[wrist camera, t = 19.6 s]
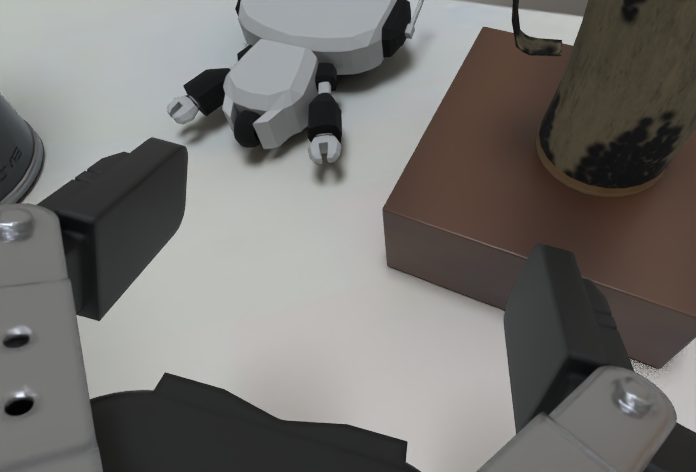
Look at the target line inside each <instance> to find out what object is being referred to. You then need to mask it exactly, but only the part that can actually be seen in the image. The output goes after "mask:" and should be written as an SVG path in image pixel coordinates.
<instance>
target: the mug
mask: <svg viewBox="0 0 696 472" xmlns="http://www.w3.org/2000/svg"><path fill="white" fill-rule="evenodd" d="M518 3H519V0H513V8H512V25H513V31H514V38H515V44H516V47H517V48H518V49H519V50H521V51H522V52H524V53H526V54H528V55H530V56H561V55H562V40H554V39H540V38H531V37H529V36H527V35H526V34H524V33H523V32H522V31H521V30H520V24H519V14H518ZM695 129H696V0H588V3H587V7H586V10H585V14H584V17H583V21H582V24H581V26H580V29H579V32H578V35H577V37H576V40H575V43H574V46H573V48H572V51H571V54H570V56H569V59H568V62H567V65H566V67H565V70H564V73H563V76H562V78H561V81H560V84H559V86H558V89H557V91H556V93H555V95H554V97H553V99H552V101H551V103H550V105H549V107H548V109H547V111H546V113H545V115H544V117H543V120H542V122H541V124H540V127H539V130H538V134H537V139H536V146H537V153H538V156H539V158H540V160H541V162H542V164H543V166H544V167H545V168H546V169H547V170H548V171H549V172H550V173H551V174H552V175H553V177H555V178H556V179H558V180H559V181H561V182H562V183H564V184H565V185H566V186H568V187H570V188H573V189H575V190H578V191H580V192H583V193H586V194H591V195H596V196H601V197H622V196H627V195H632V194H636V193H639V192H641V191H643V190H645V189H647V188H649V187H651V186H653V185H654V184H655V183H656V182H657V181H658V180H659V179H660V178H661V177H662V176H663V174H664V172H665V170H666V168H667V166H668V165H669V164H670V163H671V161H672V160H673V159H674V157H675V156H676V155H677V153H678V152H679V151H680V149H681V148H682V147H683V145H684V144H685V143H686V142H687V140H688V139H689V138H690V136H691V135H692V134H693V132H694V131H695Z"/></svg>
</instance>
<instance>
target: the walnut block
mask: <svg viewBox="0 0 696 472" xmlns="http://www.w3.org/2000/svg"><path fill="white" fill-rule="evenodd" d="M529 37H530V36H529ZM531 38H534V37H531ZM572 48H573V46H572V45H567V44H562V55H561V56H530V55H528V54H526V53H524V52H522V51H521V50H519V49H518V48H517V47H516V44H515V38H514V33H511V32H506V31H502V30H497V29H492V28H488V27H483V28H482V29H481V31H480V33H479V35H478V37H477V39H476V40H475V42H474V44H473V46H472V48H471V49H470V51H469V53H468V55H467V57H466V58H465V60H464V62H463V64H462V66H461V68H460V69H459V71H458V73H457V75H456V77H455V78H454V80H453V82H452V84H451V86H450V87H449V89H448V91H447V93H446V95H445V97H444V98H443V100H442V102H441V104H440V106H439V107H438V109H437V111H436V113H435V115H434V116H433V118H432V120H431V122H430V124H429V126H428V127H427V129H426V131H425V133H424V135H423V136H422V138H421V140H420V142H419V144H418V146H417V147H416V149H415V151H414V153H413V155H412V156H411V158H410V160H409V162H408V164H407V165H406V167H405V169H404V171H403V173H402V175H401V176H400V178H399V180H398V182H397V184H396V185H395V187H394V189H393V191H392V193H391V194H390V196H389V198H388V200H387V202H386V204H385V205H384V207H383V222H384V234H385V246H386V258H387V265H388V266H390V267H393V268H396V269H398V270H401V271H403V272H406V273H409V274H411V275H414V276H417V277H419V278H422V279H424V280H427V281H430V282H432V283H435V284H438V285H440V286H443V287H446V288H448V289H451V290H453V291H456V292H459V293H461V294H464V295H467V296H469V297H472V298H475V299H477V300H480V301H482V302H485V303H488V304H490V305H493V306H496V307H498V308H501V309H504V310H505V309H506V305H507V302H508V299H509V296H510V294H511V292H512V290H513V288H514V286H515V284H516V282H517V280H518V277H519V275H520V273H521V271H522V269H523V267H524V265H525V263H526V261H527V259H528V257H529V254H530V252H531V250H532V249H533V247H534V246H535V245H536V244H537V243H541V244H545V245H549V246H553V247H556V248H560V249H564V250H567V251H571V252H573V253H574V255H575V258H576V261H577V264H578V267H579V270H580V273H581V276H582V278H586V279H590V280H591V281H592V282H593V283H594V284H595V285H596V286H597V288H598V289H599V290H600V291H601V292H602V293H603V294H604V295H605V297H606V299H607V302H608V304H609V307H610V309H611V312H612V315H611V316H612V317H614V320H615V323H616V325H617V331H619V333H620V336H621V338H622V341H623V343H624V346H625V349H626V351H627V354H628V357H630V358H633V359H635V360H638V361H641V362H643V363H646V364H648V365H651V366H654V367H656V368H661V367H663V366H664V365H665V364H666V363H667V362H668V361H669V360H671V359H672V358H673V357H674V356H675V355H676V354H677V353H679V352H680V351H681V350H682V349H683V348H684V347H685V346H687V345H688V344H689V343H690V342H691V341H692V340H693V339H695V338H696V129H695V131H694V132H693V134H692V135H691V136H690V138H689V139H688V140H687V142H686V143H685V144H684V145H683V147H682V148H681V149H680V151H679V152H678V153H677V155H676V156H675V157H674V159H673V160H672V161H671V163H670V164H669V165H668V166H667V168H666V170H665V172H664V174H663V176H662V177H661V178H660V179H659V180H658V181H657V182H656V183H655V184H654V185H653V186H651V187H649V188H647V189H645V190H643V191H641V192H639V193H636V194H632V195H627V196H622V197H601V196H596V195H591V194H586V193H583V192H580V191H578V190H575V189H573V188H570V187H568V186H566V185H565V184H564V183H562V182H561V181H559V180H558V179H556V178H555V177H553V175H552V174H551V173H550V172H549V171H548V170H547V169H546V168H545V167H544V166H543V164H542V162H541V160H540V158H539V156H538V153H537V146H536V139H537V134H538V130H539V127H540V124H541V122H542V120H543V117H544V115H545V113H546V111H547V109H548V107H549V105H550V103H551V101H552V99H553V97H554V95H555V93H556V91H557V89H558V86H559V84H560V81H561V78H562V76H563V73H564V70H565V67H566V65H567V62H568V59H569V56H570V54H571V51H572Z"/></svg>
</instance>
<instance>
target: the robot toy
mask: <svg viewBox="0 0 696 472" xmlns="http://www.w3.org/2000/svg"><path fill="white" fill-rule="evenodd" d="M423 2H424V0H419V2H418V5H417V7H416V10H415V13H414V15H413V18H412V20H411V9H410V2H409V1H407V0H238V2H237V5H236V8H235V9H236V11H237V14H238V20H239V23H240V25H241V28H242V31H243V34H244V36H245V39H246V42H247V43H248V44H249V46H248V47H246V48H245V49H244V50H242V51H241V52H239V53H238V54H237V55H238V62H237V63H236V64H234V65H233V66H231V67H230V68H222V69H209V70H205V71H204V72H202V73H201V74H199V75H198V76H196V77H195V78H194V79H192V80H191V81H189V82H188V83H186V84H185V85H184V88H185V90H186V92H187V94H188V95H187V96H182V97H177V98H174V99H173V101H172V102H171V103H170V104H169V105H168V107H167V112H168V113H169V115H170V116H171V117H172V118H174V120H175V121H176V122H177V123H179V124H185V123H187V122H189V121H192V120H193V119H194V118H195V116H196V114H197V112H198V111H199V110H200V111H201V112H202V113H203V114H204V115H205V116H208V115H209V114H210V113H212V112H213V111H215V110H216V109H217V108H219V107H220V106H222V105H223V107H222V110H223V112H224V114H225V116H226V118H227V120H228V122H229V124H230V126H231V128H232V130H233V132H234V136H235V139H236V140H237V142H238V143H239V144H240V145H242V146H244V147H250V148H253V147H256V146H258V145H260V144H262V146H263V149H270V148H278V147H279V146H280V145H281V144H283V143H284V142H285V141H286V140H287V139H288V138H289V137H291V136H292V135H294V134H296V133H301V131H302V130H303V129H304V128H305V127H307V126H308V139H309V140H310V142H311V144H310V146H309V148H308V152H309V156H310V159H311V160H312V161H314V162H315V163H317V164H320V163H323V162H322V154H323V153H328V155H327V160H328V163H330V162H334V161H336V160H338V158H339V156H340V152H341V148H342V146H341V144H340V143H341V137H342V119H341V109H340V108H339V106H338V104H337V103H336V101H335V100H334V98H333V97H332V96H331V92H333V91H335V90H336V86H337V75H348V74H358V73H362V72H365V71H368V70H371V69H373V68H375V67H377V66H380V65H381V63H382V61H383V59H384V58H386V57H391V56H392V55H393V54H394V53H395V52H396V51H397V50H398V49H399V48H400V47H401V46H402V45H403V44H404V42H405V40H406V38H410V39H412V36H413V33H414V31H415V29H414V25H415V23H416V20H417V17H418V15H419V12H420V10H421V7H422V4H423Z"/></svg>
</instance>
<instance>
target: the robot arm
mask: <svg viewBox="0 0 696 472" xmlns="http://www.w3.org/2000/svg"><path fill="white" fill-rule="evenodd" d="M42 158H43V147H42V143H41V140H40V138H39V136H38V135H37V133H36V132H35V131H34V130H33V128H32V127H31V126H30V125H29V124H28V123H27V122H26V121H25V120H23V119H22V118H21V117H20V116H19V115H18V113H17V112H16V111H15V110H14V109H13V107H12V106H11V105H10V104H9V103H8V102H7V100H6V99H5V98H4V97H3V96H2V94H1V93H0V472H421V471H419V470H418V469H416V468H415V467H413V466H412V465H410V464H408V463H406V452H407V441H404V440H400V439H397V438H393V437H390V436H386V435H383V434H379V433H376V432H372V431H369V430H365V429H362V428H358V427H354V426H351V425H347V424H332V423H315V422H299V421H285V420H281V419H278V418H276V417H274V416H272V415H270V414H268V413H266V412H265V411H263V410H261V409H259V408H257V407H255V406H254V405H252V404H250V403H248V402H246V401H244V400H243V399H241V398H239V397H237V396H235V395H234V394H232V393H230V392H228V391H226V390H224V389H221V388H218V387H214V386H211V385H207V384H204V383H200V382H197V381H193V380H190V379H186V378H183V377H179V376H176V375H172V374H169V373H165V374H164V375H163V377H162V378H161V380H160V381H159V383H158V385H157V386H156V388H155V389H154V390H137V391H125V392H117V393H112V394H108V395H103V396H99V397H96V398H93V399H89V393H88V386H87V380H86V374H85V368H84V361H83V355H82V349H81V342H80V336H79V330H78V324H77V317H76V315H80V316H83V317H87V318H90V319H94V320H97V321H100V320H101V319H102V317H103V316H104V315H105V314H106V313H107V312H108V310H109V309H110V308H111V307H112V306H113V305H114V303H115V302H116V301H117V300H118V299H119V298H120V297H121V295H122V294H123V293H124V292H125V291H126V290H127V288H128V287H129V286H130V285H131V284H132V283H133V281H134V280H135V279H136V278H137V277H138V276H139V275H140V273H141V272H142V271H143V270H144V269H145V268H146V266H147V265H148V264H149V263H150V262H151V261H152V259H153V258H154V257H155V256H156V255H157V254H158V253H159V251H160V250H161V249H162V248H163V247H164V246H165V244H166V243H167V242H168V241H169V240H170V239H171V237H172V236H173V235H174V234H175V233H176V231H177V230H178V228H179V226H180V224H181V222H182V219H183V216H184V211H185V201H186V183H187V165H188V152H187V149H186V147H185V146H183V145H179V144H175V143H172V142H168V141H164V140H160V139H157V138H149V139H148V140H147V141H145V142H144V143H143V144H141V145H140V146H139V147H137V148H136V149H135V150H133V151H132V152H131V153H126V152H122V153H118V154H115V155H112V156H108V157H105V158H102V159H101V160H99V161H98V162H96V163H95V164H94V165H92V166H91V167H89V168H88V169H87V171H84V172H82V173H81V174H80V175H78V176H77V177H75V180H71V181H70V182H68V183H67V184H65V185H64V186H63V187H61V188H60V189H58V190H57V191H56V192H54V193H53V194H51V195H50V196H49V197H47V198H46V199H44V200H43V201H41V202H40V203H39V204H37V205H33V204H22V203H16V202H17V201H18V200H19V199H20V198H21V197H22V196H23V195H24V194H25V193H26V191H27V190H28V189H29V187H30V186H31V185H32V183H33V182H34V180H35V178H36V176H37V174H38V172H39V170H40V167H41V163H42ZM15 203H16V204H15ZM611 315H612V312H611V309H610V307H609V304H608V302H607V299H606V297H605V295H604V294H603V293H602V292H601V291H600V290H599V289H598V288H597V286H596V285H595V284H594V283H593V282H592V281H591V280H590V279H586V278H582V276H581V273H580V270H579V267H578V264H577V261H576V258H575V255H574V253H573V252H571V251H567V250H564V249H560V248H556V247H553V246H549V245H545V244H541V243H537V244H536V245H535V246H534V247H533V249H532V250H531V252H530V254H529V257H528V259H527V261H526V263H525V265H524V267H523V269H522V271H521V273H520V275H519V277H518V280H517V282H516V284H515V286H514V288H513V290H512V292H511V294H510V296H509V299H508V302H507V305H506V309H505V314H504V330H505V339H506V348H507V357H508V366H509V375H510V383H511V392H512V401H513V410H514V419H515V428H516V435H515V436H514V437H513V438H512V439H511V440H510V441H509V442H508V443H507V444H506V445H505V446H504V447H502V448H501V449H500V450H499V451H498V452H497V453H496V454H495V455H494V456H493V457H492V458H491V459H490V460H489V461H487V462H486V463H485V464H484V465H483V466H482V467H481V468H480V469H479V470H478V471H477V472H696V433H695V432H693V431H691V430H689V429H687V428H686V427H684V426H682V425H680V424H678V423H677V422H676V420H677V417H676V412H675V409H674V407H673V405H672V403H671V402H670V400H669V399H668V397H667V396H666V395H665V394H664V393H663V392H662V391H661V390H660V389H659V388H658V387H657V386H656V385H655V384H653V383H652V382H651V381H649V380H648V379H646V378H645V377H643V376H642V375H640V374H638V373H636V372H634V370H633V367H632V364H631V362H630V359H629V357H628V354H627V351H626V349H625V346H624V343H623V341H622V338H621V336H620V333H619V331H617V325H616V323H615V320H614V317H612V316H611Z"/></svg>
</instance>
